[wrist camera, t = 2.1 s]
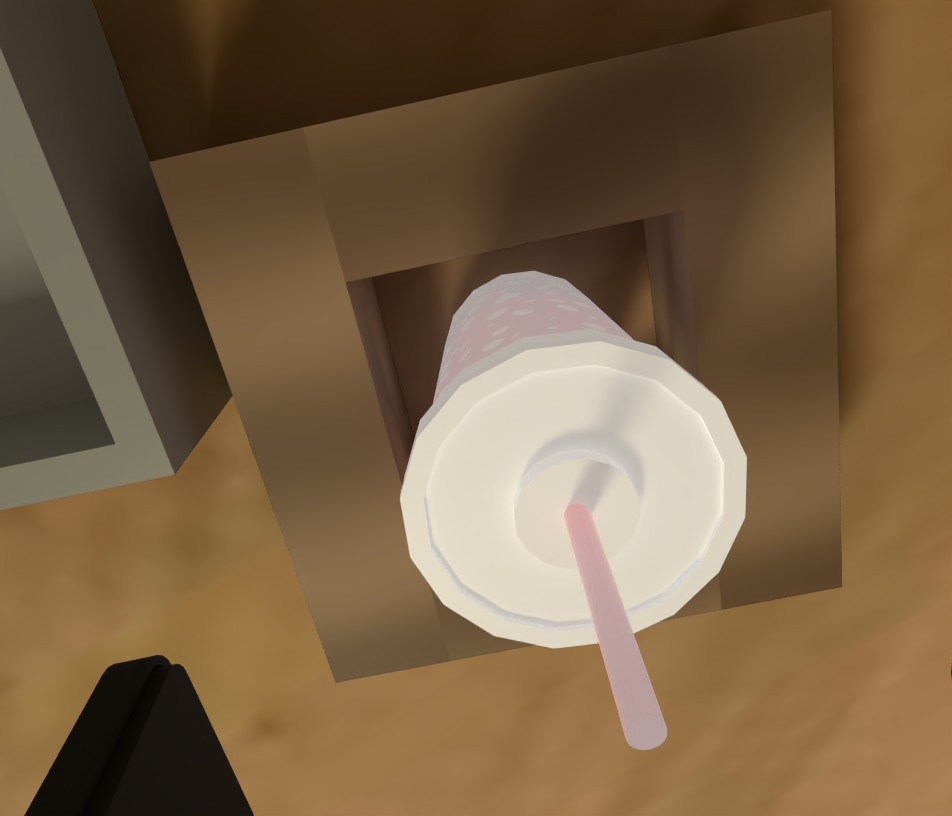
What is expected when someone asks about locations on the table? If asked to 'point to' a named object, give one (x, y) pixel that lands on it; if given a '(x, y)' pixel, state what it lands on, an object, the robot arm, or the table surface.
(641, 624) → the beverage cup
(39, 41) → the tray
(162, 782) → the robot arm
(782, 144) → the holder block
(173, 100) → the table surface
